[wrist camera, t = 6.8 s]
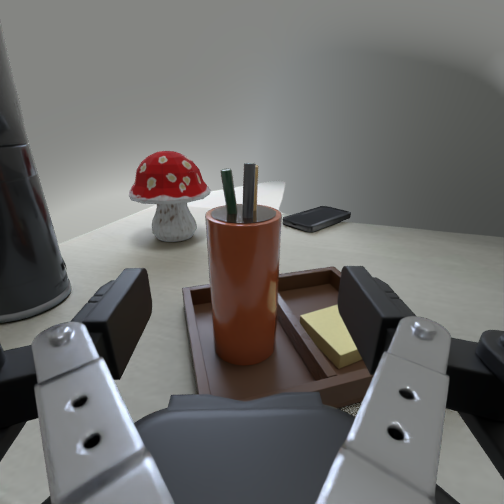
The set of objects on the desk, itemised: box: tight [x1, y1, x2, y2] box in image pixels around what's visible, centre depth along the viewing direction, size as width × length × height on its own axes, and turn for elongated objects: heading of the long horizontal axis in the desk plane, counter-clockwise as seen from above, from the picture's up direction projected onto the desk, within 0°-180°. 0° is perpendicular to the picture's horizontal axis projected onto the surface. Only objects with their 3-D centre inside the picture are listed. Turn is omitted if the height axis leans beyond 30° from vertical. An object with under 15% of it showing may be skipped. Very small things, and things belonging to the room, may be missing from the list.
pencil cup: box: [205, 163, 282, 366], centre depth 24 cm, size 6×6×16 cm
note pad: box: [300, 305, 362, 369], centre depth 28 cm, size 6×6×2 cm
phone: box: [283, 206, 351, 232], centre depth 63 cm, size 8×1×15 cm
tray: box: [182, 267, 374, 408], centre depth 28 cm, size 19×17×2 cm
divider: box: [277, 293, 337, 381], centre depth 28 cm, size 1×15×2 cm, turn 16°
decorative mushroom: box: [129, 151, 211, 242], centre depth 51 cm, size 14×14×15 cm
